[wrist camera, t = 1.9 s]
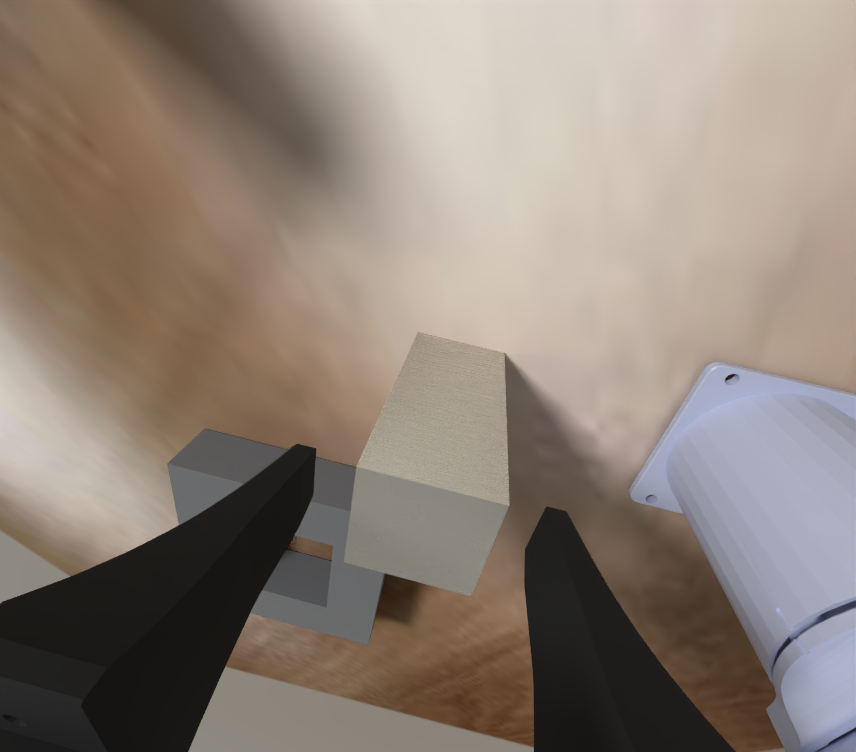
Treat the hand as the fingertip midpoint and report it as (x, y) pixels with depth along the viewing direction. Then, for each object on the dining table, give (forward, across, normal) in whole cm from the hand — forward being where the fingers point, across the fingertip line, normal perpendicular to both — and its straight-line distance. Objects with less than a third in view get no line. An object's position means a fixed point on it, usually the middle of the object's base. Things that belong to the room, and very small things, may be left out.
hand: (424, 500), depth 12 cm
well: (+8, +7, +13) cm, 17 cm away
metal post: (+8, 0, 0) cm, 8 cm away
